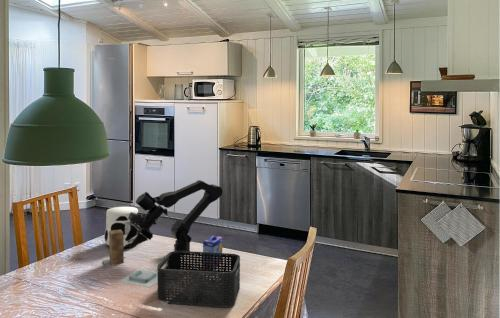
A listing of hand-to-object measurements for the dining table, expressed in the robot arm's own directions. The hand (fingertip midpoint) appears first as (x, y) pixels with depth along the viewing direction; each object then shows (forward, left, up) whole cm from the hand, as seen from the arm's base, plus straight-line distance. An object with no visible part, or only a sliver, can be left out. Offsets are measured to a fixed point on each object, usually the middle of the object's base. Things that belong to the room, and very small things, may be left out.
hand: (128, 243), depth 184 cm
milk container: (-5, -24, -9) cm, 26 cm away
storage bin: (-13, +46, -9) cm, 48 cm away
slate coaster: (+5, 0, -8) cm, 10 cm away
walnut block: (+5, 0, -8) cm, 9 cm away
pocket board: (+1, +22, -8) cm, 24 cm away
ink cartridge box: (-31, +23, -9) cm, 39 cm away
